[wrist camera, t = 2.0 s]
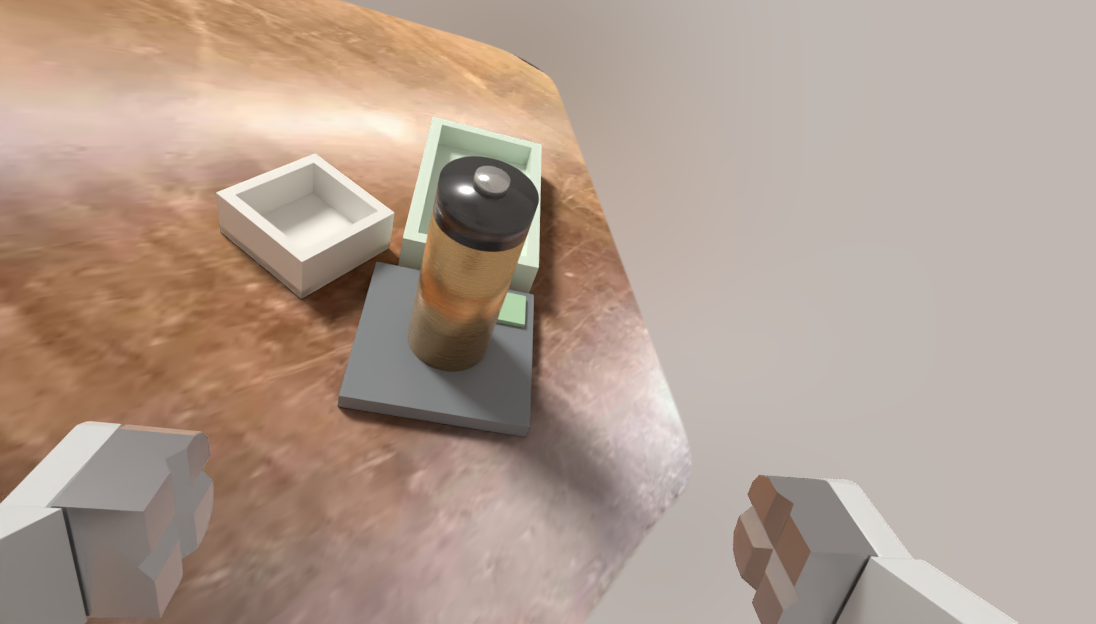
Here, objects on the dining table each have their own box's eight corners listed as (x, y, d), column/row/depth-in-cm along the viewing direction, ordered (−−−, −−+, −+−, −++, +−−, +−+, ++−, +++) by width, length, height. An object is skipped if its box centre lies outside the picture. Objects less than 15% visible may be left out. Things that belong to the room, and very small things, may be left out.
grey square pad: (337, 406, 33) (339, 392, 32) (374, 272, 40) (377, 257, 39) (525, 437, 35) (531, 424, 34) (529, 304, 42) (535, 291, 41)
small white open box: (220, 231, 38) (216, 192, 36) (313, 190, 43) (314, 153, 41) (301, 298, 37) (302, 262, 35) (389, 248, 41) (394, 212, 39)
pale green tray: (528, 294, 42) (538, 267, 41) (398, 266, 41) (402, 238, 39) (533, 170, 52) (541, 144, 50) (427, 143, 50) (432, 116, 48)
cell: (390, 335, 36) (419, 167, 27) (445, 296, 39) (485, 134, 30) (451, 385, 34) (501, 226, 26) (503, 342, 38) (561, 186, 29)
